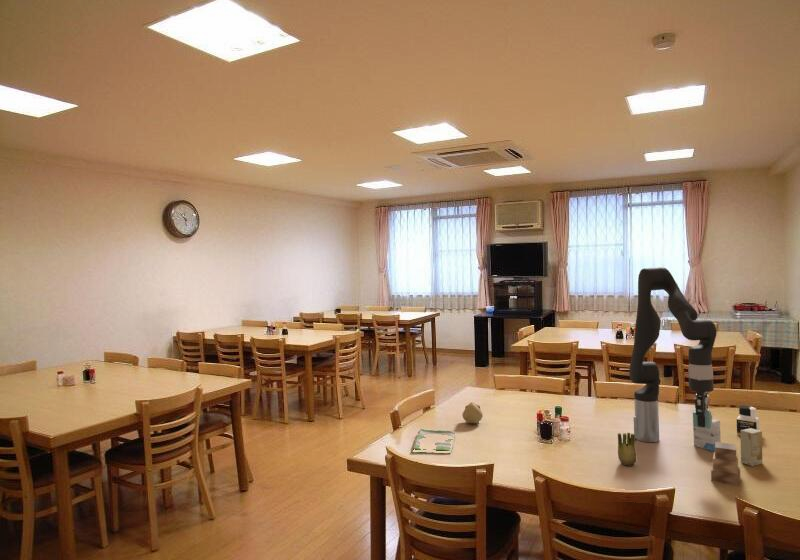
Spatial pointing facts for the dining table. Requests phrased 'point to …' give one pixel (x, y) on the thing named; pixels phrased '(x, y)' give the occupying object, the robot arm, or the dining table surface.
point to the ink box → (707, 435)
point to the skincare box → (751, 446)
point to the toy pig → (472, 413)
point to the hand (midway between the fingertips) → (702, 424)
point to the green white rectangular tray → (439, 445)
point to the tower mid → (725, 465)
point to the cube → (707, 419)
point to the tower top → (725, 451)
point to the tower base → (725, 477)
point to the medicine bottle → (747, 419)
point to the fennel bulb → (626, 449)
